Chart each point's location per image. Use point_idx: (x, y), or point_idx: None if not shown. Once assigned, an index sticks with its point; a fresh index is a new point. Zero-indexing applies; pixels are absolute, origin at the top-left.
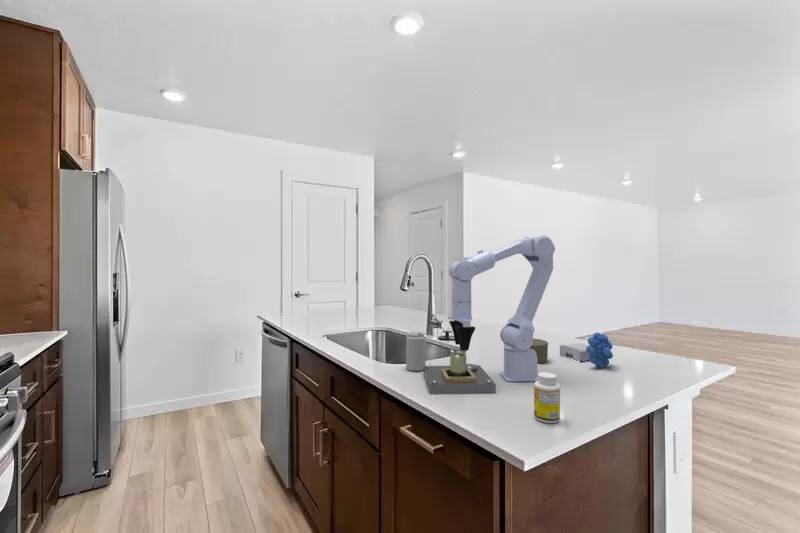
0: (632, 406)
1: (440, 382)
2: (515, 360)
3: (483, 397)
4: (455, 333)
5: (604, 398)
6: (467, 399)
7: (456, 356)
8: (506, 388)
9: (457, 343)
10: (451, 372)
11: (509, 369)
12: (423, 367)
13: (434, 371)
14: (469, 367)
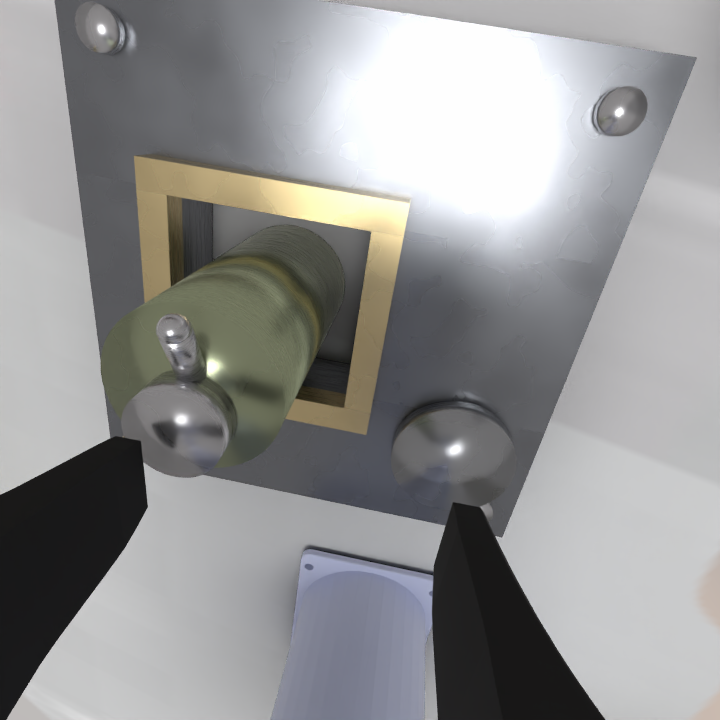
0: (51, 707)
1: (117, 95)
2: (279, 694)
3: (76, 342)
4: (479, 657)
5: (110, 697)
6: (33, 242)
7: (106, 340)
8: (213, 500)
9: (449, 527)
10: (234, 250)
11: (319, 619)
12: (682, 58)
13: (447, 136)
14: (410, 448)
